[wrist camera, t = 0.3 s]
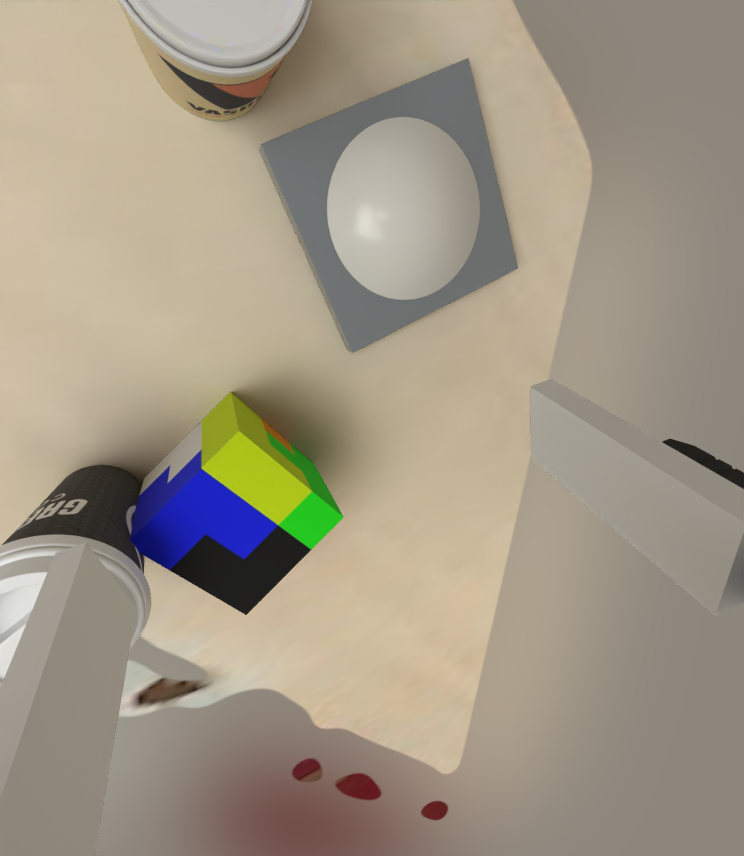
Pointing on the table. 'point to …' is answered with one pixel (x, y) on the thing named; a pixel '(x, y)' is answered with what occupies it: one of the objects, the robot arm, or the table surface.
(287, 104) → the table surface
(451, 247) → the gray square plate
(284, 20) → the coffee cup
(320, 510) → the puzzle toy
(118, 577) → the coffee cup
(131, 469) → the table surface
